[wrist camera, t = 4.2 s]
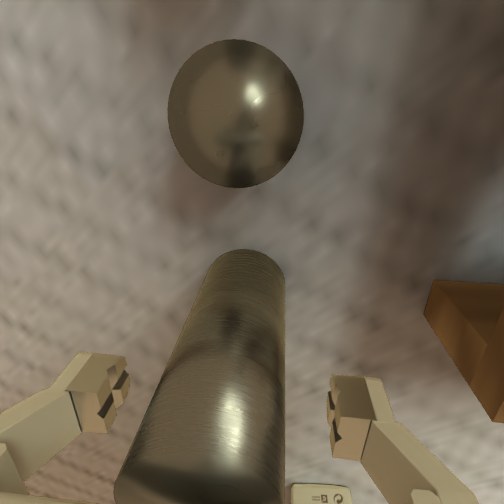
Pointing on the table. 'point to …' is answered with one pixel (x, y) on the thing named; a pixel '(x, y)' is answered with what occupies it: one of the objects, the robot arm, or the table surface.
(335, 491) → the skincare box
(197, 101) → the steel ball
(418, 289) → the table surface
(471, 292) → the walnut bridge
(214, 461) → the tall steel pin
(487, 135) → the table surface
